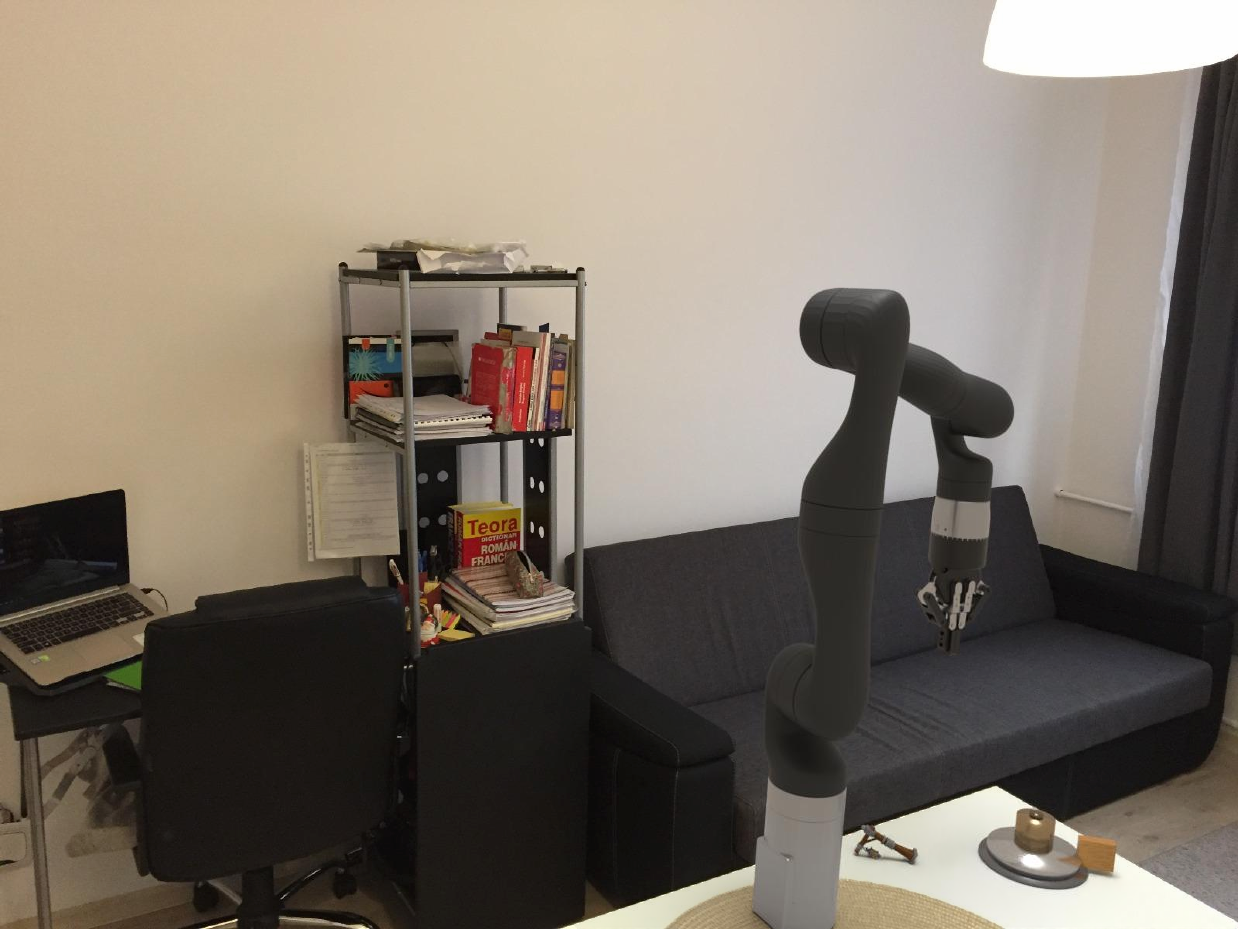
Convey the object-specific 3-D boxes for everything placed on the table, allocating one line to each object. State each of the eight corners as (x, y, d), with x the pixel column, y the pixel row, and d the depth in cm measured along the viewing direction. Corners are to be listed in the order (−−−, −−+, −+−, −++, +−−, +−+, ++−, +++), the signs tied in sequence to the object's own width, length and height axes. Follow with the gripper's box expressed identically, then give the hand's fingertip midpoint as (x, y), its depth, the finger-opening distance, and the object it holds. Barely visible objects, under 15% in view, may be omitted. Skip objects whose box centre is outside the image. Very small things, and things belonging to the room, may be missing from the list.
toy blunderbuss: (848, 845, 143) (864, 818, 142) (900, 873, 142) (917, 847, 141) (848, 851, 141) (865, 824, 140) (902, 880, 140) (919, 854, 139)
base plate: (1039, 899, 133) (1039, 896, 133) (956, 847, 145) (956, 845, 145) (1111, 875, 139) (1111, 872, 139) (1025, 828, 151) (1026, 825, 151)
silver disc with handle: (989, 870, 138) (992, 843, 137) (983, 828, 149) (986, 803, 149) (1121, 893, 134) (1124, 865, 133) (1104, 848, 145) (1107, 822, 145)
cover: (1054, 856, 140) (1058, 824, 139) (1015, 849, 141) (1018, 817, 140) (1050, 839, 145) (1054, 808, 144) (1012, 832, 146) (1015, 801, 145)
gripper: (944, 539, 135) (932, 667, 137) (1015, 533, 141) (1002, 656, 144) (903, 527, 142) (892, 650, 144) (973, 522, 148) (961, 640, 150)
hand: (947, 653), depth 144 cm, fingers closed
